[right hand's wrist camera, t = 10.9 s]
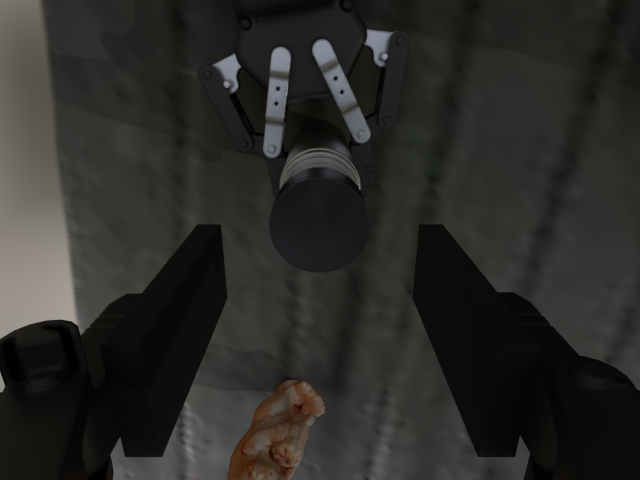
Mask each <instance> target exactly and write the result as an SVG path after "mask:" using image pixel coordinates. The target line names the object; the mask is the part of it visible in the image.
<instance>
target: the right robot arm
mask: <svg viewBox="0 0 640 480" xmlns="http://www.w3.org/2000/svg"><path fill="white" fill-rule="evenodd" d="M226 300H227V287H226V276H225V266H224V255H223V244H222V233H221V225H197V226H196V227H195V228H194V230H193V231H192V232H191V233H190V234H189V236H188V237H187V238H186V239H185V241H184V242H183V243H182V244H181V246H180V247H179V248H178V249H177V251H176V252H175V253H174V254H173V255H172V257H171V258H170V259H169V260H168V262H167V263H166V264H165V265H164V267H163V268H162V269H161V270H160V272H159V273H158V274H157V275H156V276H155V278H154V279H153V280H152V281H151V283H150V284H149V285H148V286H147V288H146V289H145V290H144V291H143V293H142V294H126V295H124V296H122V297H121V298H119V299H117V300H115V301H114V302H112V303H110V304H109V305H108V306H107V307H106V309H105V310H104V311H103V312H102V313H101V314H100V315H99V318H96V320H95V321H94V322H93V323H92V324H91V325H90V328H87V329H86V331H85V332H84V333H83V334H82V335H81V336H80V332H79V328H78V326H77V325H76V324H74V323H73V322H71V321H65V320H49V321H42V322H38V323H34V324H30V325H27V326H25V327H22V328H20V329H17V330H15V331H13V332H11V333H9V334H8V335H6V336H4V337H3V338H1V339H0V372H1V375H2V378H3V381H4V384H5V388H4V390H3V392H1V393H0V480H113V473H114V472H113V465H112V460H111V456H110V454H111V452H112V450H113V449H114V447H115V445H116V443H117V441H118V440H119V438H120V437H121V441H122V446H123V450H124V454H125V457H162V456H163V453H164V451H165V449H166V446H167V444H168V441H169V439H170V436H171V434H172V432H173V429H174V427H175V424H176V422H177V419H178V417H179V414H180V412H181V410H182V407H183V405H184V402H185V400H186V397H187V395H188V393H189V390H190V388H191V385H192V383H193V380H194V378H195V376H196V373H197V371H198V368H199V366H200V363H201V361H202V359H203V356H204V354H205V351H206V349H207V346H208V344H209V342H210V339H211V337H212V334H213V332H214V329H215V327H216V325H217V322H218V320H219V317H220V315H221V312H222V310H223V308H224V305H225V303H226ZM413 300H414V303H415V305H416V308H417V310H418V312H419V315H420V317H421V320H422V322H423V325H424V327H425V329H426V332H427V334H428V337H429V339H430V342H431V344H432V346H433V349H434V351H435V354H436V356H437V359H438V361H439V363H440V366H441V368H442V371H443V373H444V376H445V378H446V380H447V383H448V385H449V388H450V390H451V393H452V395H453V397H454V400H455V402H456V405H457V407H458V410H459V412H460V415H461V417H462V419H463V422H464V424H465V427H466V429H467V432H468V434H469V436H470V439H471V441H472V444H473V446H474V449H475V451H476V453H477V456H478V457H515V454H516V450H517V446H518V441H519V437H520V435H521V437H522V439H523V441H524V443H525V445H526V446H527V448H528V450H529V452H530V456H529V460H528V464H527V468H526V472H525V476H524V480H640V391H639V390H637V389H636V387H635V386H634V384H633V383H632V382H631V381H630V379H629V378H628V377H627V376H626V375H625V374H623V373H622V372H620V371H619V370H617V369H616V368H615V367H613V366H610V365H608V364H606V363H604V362H602V361H600V360H596V359H592V358H589V357H585V356H579V355H578V354H577V353H576V351H575V350H574V349H573V348H572V347H571V346H570V345H569V344H568V343H567V342H566V341H565V339H564V338H563V337H562V336H561V335H560V334H559V333H558V332H557V331H556V330H555V329H554V327H553V326H550V323H549V322H548V321H547V320H546V319H545V318H544V317H543V316H541V313H540V312H539V311H538V310H537V309H536V308H535V307H534V306H533V305H532V304H531V302H529V301H527V300H526V299H524V298H522V297H520V296H519V295H517V294H515V293H514V292H497V291H496V290H495V289H494V288H493V286H492V285H491V284H490V283H489V281H488V280H487V279H486V278H485V276H484V275H483V274H482V273H481V272H480V270H479V269H478V268H477V267H476V265H475V264H474V263H473V262H472V260H471V259H470V258H469V257H468V255H467V254H466V253H465V252H464V251H463V249H462V248H461V247H460V246H459V244H458V243H457V242H456V241H455V239H454V238H453V237H452V236H451V234H450V233H449V232H448V231H447V230H446V228H445V227H444V226H443V225H419V233H418V244H417V255H416V266H415V276H414V287H413Z"/></svg>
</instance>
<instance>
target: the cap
mask: <svg viewBox="0 0 640 480" xmlns="http://www.w3.org/2000/svg"><path fill="white" fill-rule="evenodd" d="M269 228H270V235H271V238H272V241H273V243H274V246H275V247H276V249H277V251H278V252H279V253H280V255H281V256H282V257H283V258H284V259H285V260H287V261H288V262H289V263H290V264H292V265H294V266H295V267H298V268H300V269H302V270H306V271H310V272H319V273H321V272H330V271H334V270H338V269H340V268H342V267H345V266H346V265H348V264H350V263H351V262H352V261H354V260H355V259H356V258H357V257H358V256H359V255H360V253H361V252H362V251H363V249H364V247H365V246H366V244H367V241H368V239H369V235H370V228H371V222H370V215H369V211H368V208H367V205H366V203H365V200H364V197H363V194H362V192H361V190H360V189H359V187H358V186H357V184H356V183H355V182H354V181H353V180H352V179H351V178H350V177H348V176H347V175H345V174H344V173H342V172H340V171H338V170H335V169H331V168H326V167H315V168H309V169H305V170H303V171H300V172H298V173H296V174H295V175H293V176H292V177H290V178H289V179H288V180H287V181H286V182H285V183H284V185H283V186H282V187H281V189H280V190H279V192H278V195H277V197H276V200H275V203H274V205H273V208H272V212H271V215H270V224H269Z"/></svg>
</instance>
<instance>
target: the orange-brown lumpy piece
mask: <svg viewBox="0 0 640 480" xmlns="http://www.w3.org/2000/svg"><path fill="white" fill-rule="evenodd" d="M323 413H325V405H324V402H323V400H322V398H321V396H320V395H319V394H318V393H317V392H316V391H315V389H314V388H313V387H312V386H311V385H310V384H309V383H308V382H307V381H297V380H287V381H285V382H282V383H281V384H280V385H279V386H278V388H277V390H276V392H275V394H273V396H271V397H269V398H267V399H266V400H264V401H263V402H262V404H261V405H260V406H259V407H258V408H257V410H256V411H255V413H254V416H253V422H252V425H251V427H250V429H249V430H248V432H247V433H246V434H245V435H244V437H243V438H242V439H241V440H240V442H239V443H238V445H237V446H236V448H235V450H234V452H233V454H232V456H231V459H230V465H229V466H230V467H229V472H228V477H227V480H289V479H290V478H291V477H292V475H293V474H294V473H295V470H296V468H297V466H298V465H299V463H300V460H301V458H302V455H303V451H304V445H305V443H306V440H307V438H308V436H309V426H311V425H312V424H313V423H314V421H315V416H320V415H321V414H323Z"/></svg>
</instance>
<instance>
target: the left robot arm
mask: <svg viewBox="0 0 640 480" xmlns="http://www.w3.org/2000/svg"><path fill="white" fill-rule="evenodd" d="M232 2H233V7H234V12H235V16H236V21H237V27H238V38H237V43H236V46H235V54H233V55H231V56H229V57H227V58H225V59H223V60H221V61H220V62H218V63H216V64H214V65H203V66H202V67H201V68H200V69H199V72H198V76H199V79H200V81H201V83H202V85H203V86H204V88H205V90H206V92H207V94H208V96H209V98H210V100H211V101H212V103H213V105H214V107H215V109H216V111H217V113H218V115H219V116H220V118H221V120H222V122H223V124H224V126H225V128H226V130H227V131H228V133H229V135H230V137H231V139H232V141H233V143H234V145H235V146H236V148H237V149H238V150H239V151H240V152H243V153H246V152H251V153H256V154H260V155H262V156H263V157H264V158H265V159H266V161H267V165H268V170H269V175H270V179H271V184H272V189H273V194H274V196H275V198H276V197H277V195H278V192H279V181H280V176H281V173H282V171H283V168H284V165H285V163H286V160H287V158H288V152H285V151H284V146H283V145H284V137H285V129H286V121H287V116H288V108H289V105H293V104H298V103H301V102H303V101H305V100H307V99H309V98H312V99H321V100H322V99H328V98H333V97H334V99H335V101H336V103H337V106H338V108H339V110H340V112H341V114H342V116H343V118H344V120H345V122H346V124H347V126H348V128H349V130H350V136H351V141H350V142H349V149H350V152H351V155H352V157H353V160H354V163H355V165H356V168H357V171H358V173H359V176H360V180H361V192H362V194H363V196H367V192H366V187H373V183H374V171H373V162H372V154H371V140H372V138H373V137H374V136H375V135H376V134H378V133H380V132H382V131H383V130H385V129H391V128H392V127H393V126H394V125H395V123H396V119H397V113H398V107H399V102H400V96H401V90H402V84H403V78H404V72H405V67H406V61H407V55H408V49H409V43H410V37H409V35H408V33H407V32H406V31H403V30H398V31H395V32H384V31H376V30H368V29H367V28H366V26H365V24H364V22H363V21H362V19H361V18H360V16H359V14H358V11H357V8H356V4H355V0H232ZM364 46H366V47H368V48H369V49H370V50H371V52H372V61H373V63H374V64H375V65H376V66H378V67H381V72H380V78H379V85H378V91H377V98H376V105H375V111H374V112H373V113H371V114H370V115H368V116H366V117H364V116H363V114H362V112H361V110H360V108H359V105H358V103H357V100H356V98H355V96H354V94H353V92H352V90H351V87H350V85H349V83H348V81H347V80H348V78H349V76H350V74H351V72H352V70H353V68H354V66H355V64H356V62H357V60H358V58H359V56H360V54H361V52H362V50H363V48H364ZM242 68H243V69H244V70H245V71H246V72H247V73H248V74H249V75H250V76H251V77H252V78H253V79H254V80H255V81H256V82H257V83H258V84H259V85H260V86H261V87H262V88H263V89H264V90H265V91H266V92H267V93H268V97H267V106H266V116H265V121H266V124H265V134H262V133H257V132H255V131H254V129H253V127H252V125H251V123H250V121H249V119H248V117H247V115H246V113H245V111H244V109H243V107H242V105H241V103H240V101H239V99H238V97H237V95H236V92H237V91H238V90H239V89H240V80H239V72H240V70H241V69H242Z"/></svg>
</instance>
